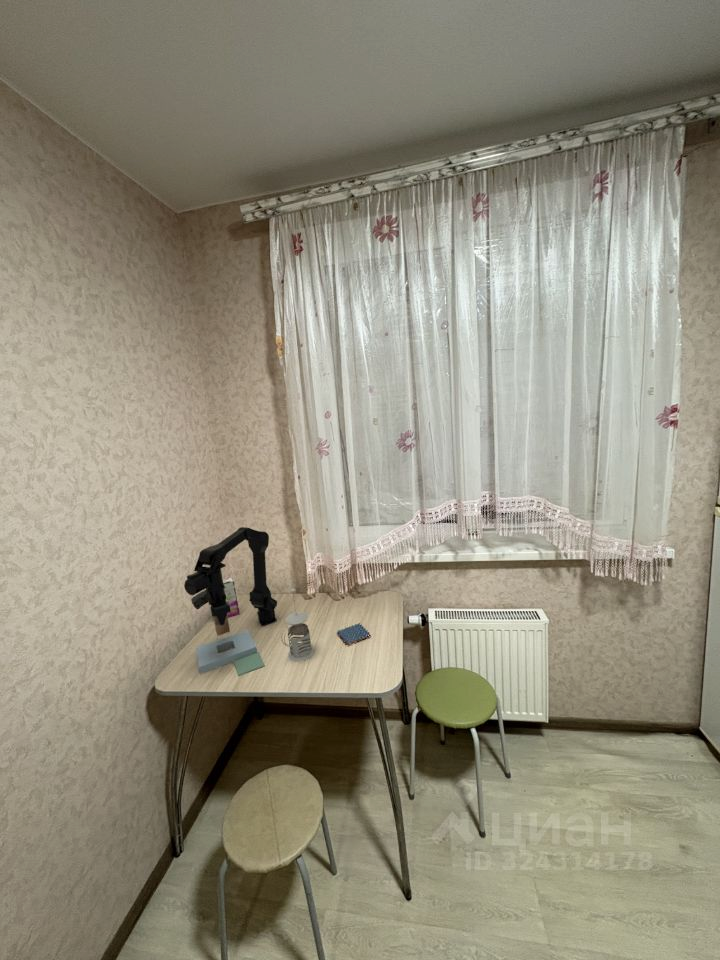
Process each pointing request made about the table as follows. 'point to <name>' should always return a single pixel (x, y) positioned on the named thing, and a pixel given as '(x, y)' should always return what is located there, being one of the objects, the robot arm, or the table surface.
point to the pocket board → (212, 659)
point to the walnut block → (221, 626)
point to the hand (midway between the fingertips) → (221, 622)
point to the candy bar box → (231, 596)
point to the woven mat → (352, 634)
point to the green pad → (249, 663)
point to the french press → (298, 628)
